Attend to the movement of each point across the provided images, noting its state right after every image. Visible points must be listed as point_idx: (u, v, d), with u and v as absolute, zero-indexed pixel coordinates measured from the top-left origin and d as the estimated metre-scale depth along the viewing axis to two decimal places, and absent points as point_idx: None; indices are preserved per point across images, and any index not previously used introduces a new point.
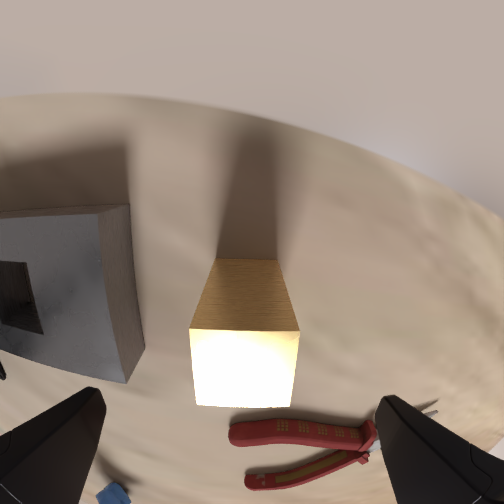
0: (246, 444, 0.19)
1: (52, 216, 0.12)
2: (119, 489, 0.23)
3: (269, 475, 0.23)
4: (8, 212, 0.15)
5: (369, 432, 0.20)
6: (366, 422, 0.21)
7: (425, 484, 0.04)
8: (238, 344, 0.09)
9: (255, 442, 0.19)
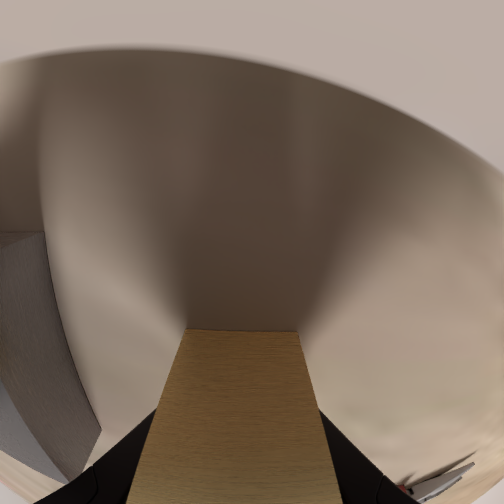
0: None
1: None
2: None
3: None
4: None
5: None
6: None
7: None
8: None
9: None
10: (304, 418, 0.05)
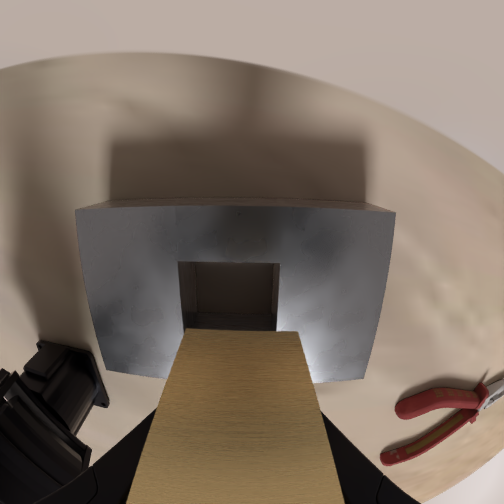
0: (415, 415, 0.19)
1: (339, 209, 0.13)
2: None
3: (400, 449, 0.23)
4: (188, 199, 0.16)
5: (484, 391, 0.20)
6: (480, 384, 0.21)
7: None
8: None
9: (421, 411, 0.19)
10: (305, 418, 0.05)
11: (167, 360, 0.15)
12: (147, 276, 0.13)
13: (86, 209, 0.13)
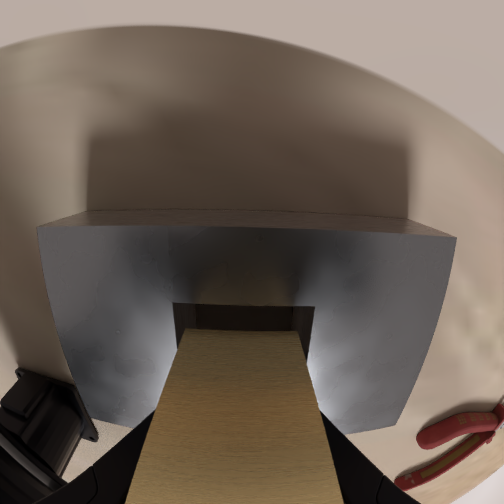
0: (438, 444, 0.16)
1: (395, 234, 0.09)
2: None
3: (415, 473, 0.20)
4: (187, 211, 0.12)
5: (503, 412, 0.16)
6: (498, 405, 0.18)
7: None
8: None
9: (444, 440, 0.16)
10: (305, 418, 0.05)
11: None
12: (132, 319, 0.09)
13: (50, 226, 0.09)
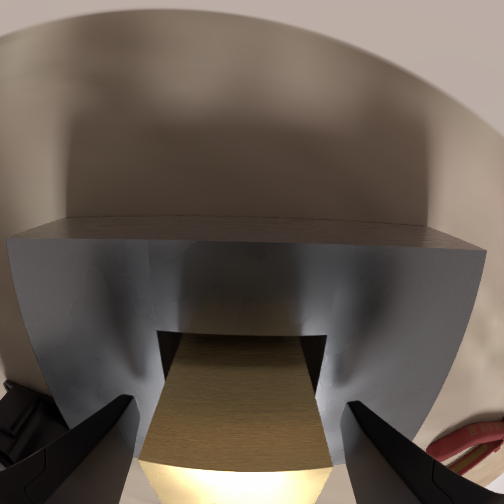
0: (448, 456, 0.14)
1: (423, 248, 0.07)
2: None
3: None
4: (175, 219, 0.10)
5: None
6: None
7: (383, 498, 0.04)
8: (224, 483, 0.04)
9: (455, 452, 0.14)
10: (289, 348, 0.08)
11: None
12: (112, 346, 0.08)
13: (19, 238, 0.07)
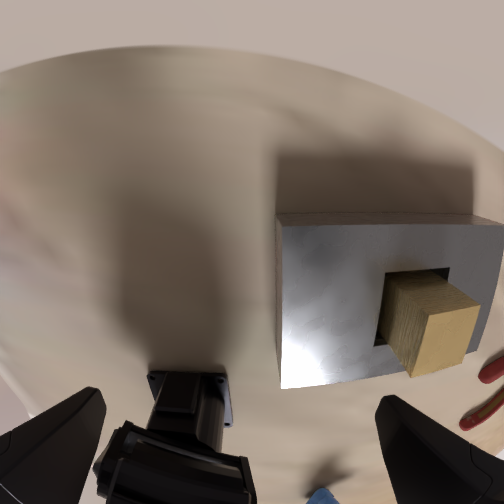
0: (494, 378, 0.20)
1: (482, 225, 0.13)
2: (328, 492, 0.25)
3: (473, 415, 0.24)
4: (365, 214, 0.16)
5: None
6: None
7: (425, 484, 0.04)
8: (451, 320, 0.11)
9: (498, 375, 0.20)
10: (434, 276, 0.14)
11: (353, 363, 0.16)
12: (357, 288, 0.14)
13: (296, 226, 0.14)
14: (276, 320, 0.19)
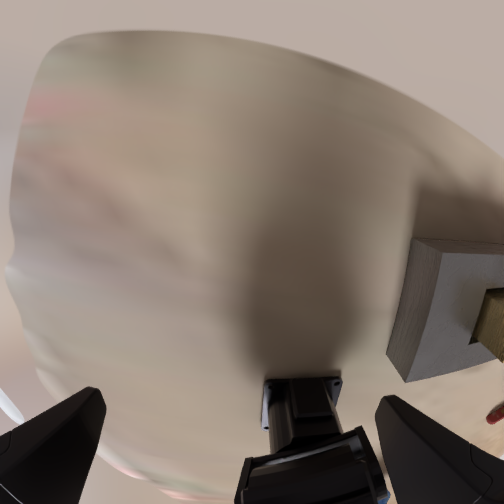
0: None
1: None
2: None
3: (497, 411, 0.26)
4: (468, 243, 0.18)
5: None
6: None
7: (425, 484, 0.04)
8: None
9: None
10: None
11: (453, 358, 0.17)
12: (470, 300, 0.16)
13: (449, 253, 0.15)
14: (394, 326, 0.20)
